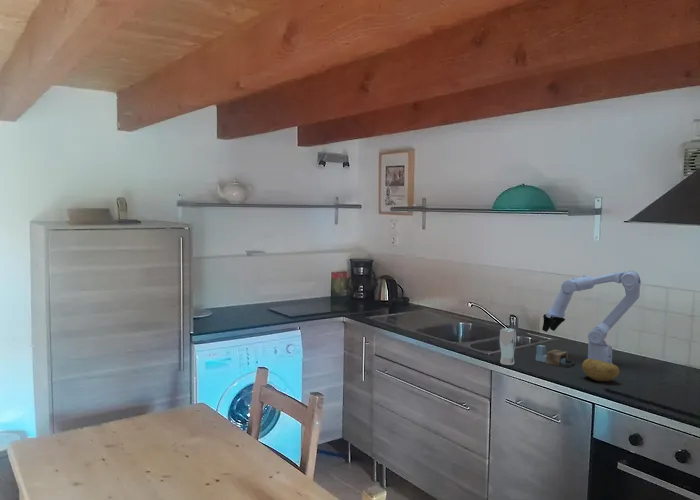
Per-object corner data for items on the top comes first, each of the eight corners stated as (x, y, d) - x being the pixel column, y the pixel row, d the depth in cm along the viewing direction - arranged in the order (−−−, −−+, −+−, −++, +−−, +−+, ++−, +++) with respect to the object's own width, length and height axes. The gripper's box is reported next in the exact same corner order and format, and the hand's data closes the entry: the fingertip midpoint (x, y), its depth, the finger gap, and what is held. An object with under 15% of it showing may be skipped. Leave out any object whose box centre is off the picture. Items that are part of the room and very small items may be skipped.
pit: (575, 364, 252) (575, 361, 252) (567, 367, 247) (567, 364, 247) (567, 363, 255) (567, 360, 255) (560, 366, 250) (560, 363, 250)
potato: (613, 387, 221) (613, 366, 220) (577, 379, 231) (578, 359, 230) (623, 382, 227) (624, 362, 227) (588, 374, 238) (589, 355, 237)
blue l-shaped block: (565, 363, 254) (566, 349, 254) (560, 365, 251) (561, 350, 251) (540, 358, 263) (540, 344, 262) (535, 360, 259) (535, 346, 259)
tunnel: (567, 363, 255) (567, 351, 255) (559, 366, 250) (559, 354, 249) (554, 360, 260) (554, 349, 259) (546, 363, 254) (546, 352, 254)
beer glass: (504, 360, 259) (505, 327, 258) (518, 363, 254) (519, 329, 253) (496, 363, 254) (496, 329, 253) (510, 366, 249) (511, 332, 248)
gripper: (560, 299, 270) (548, 325, 273) (545, 300, 259) (533, 326, 263) (573, 307, 265) (561, 332, 269) (559, 308, 255) (546, 334, 259)
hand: (548, 330), depth 266 cm, fingers open, 7 cm apart
